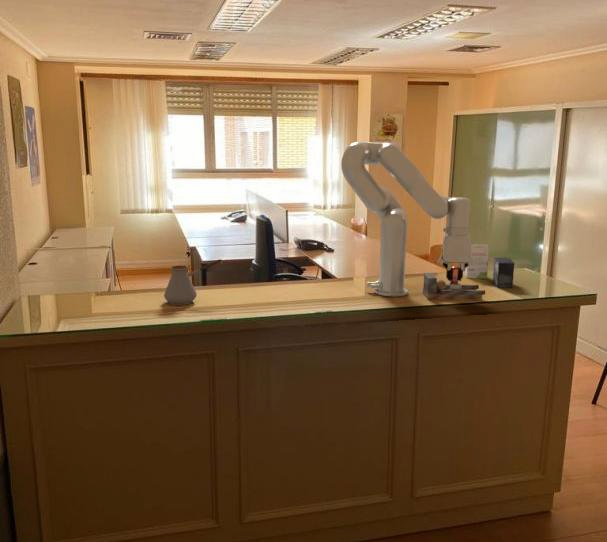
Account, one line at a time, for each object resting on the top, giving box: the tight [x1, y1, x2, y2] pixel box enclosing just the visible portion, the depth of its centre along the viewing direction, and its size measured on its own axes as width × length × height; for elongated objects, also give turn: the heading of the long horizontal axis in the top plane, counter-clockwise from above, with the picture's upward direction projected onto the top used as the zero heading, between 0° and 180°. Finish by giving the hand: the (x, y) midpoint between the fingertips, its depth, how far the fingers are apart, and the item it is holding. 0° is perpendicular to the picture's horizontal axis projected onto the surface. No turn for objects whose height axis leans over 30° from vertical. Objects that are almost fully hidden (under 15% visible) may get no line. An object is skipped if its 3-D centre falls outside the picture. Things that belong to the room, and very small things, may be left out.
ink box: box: [464, 243, 490, 279], centre depth 252 cm, size 9×5×15 cm, turn 84°
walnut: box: [436, 279, 447, 292], centre depth 222 cm, size 4×4×4 cm
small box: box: [492, 256, 516, 289], centre depth 240 cm, size 11×6×10 cm, turn 172°
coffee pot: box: [163, 258, 224, 306], centre depth 213 cm, size 21×12×15 cm, turn 107°
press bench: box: [422, 272, 486, 301], centre depth 222 cm, size 21×9×8 cm, turn 90°
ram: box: [446, 265, 463, 290], centre depth 222 cm, size 4×6×9 cm, turn 0°
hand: (454, 279), depth 222 cm, fingers closed on ram, 3 cm apart
